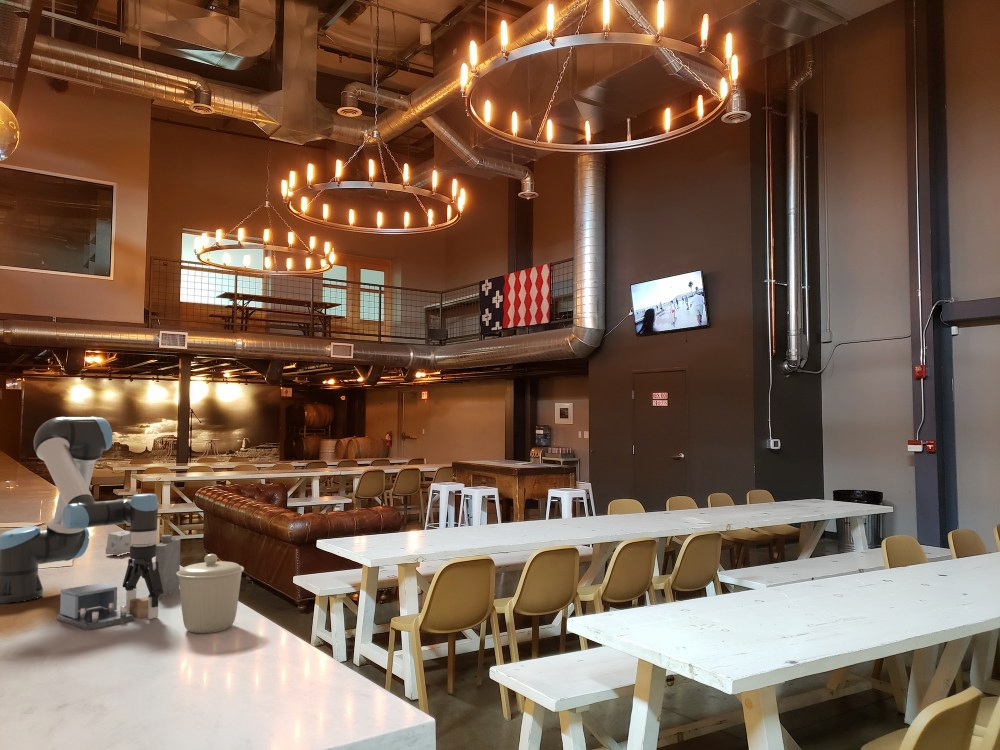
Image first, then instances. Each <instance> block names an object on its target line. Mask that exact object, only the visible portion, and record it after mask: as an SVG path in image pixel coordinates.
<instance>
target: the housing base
mask: <svg viewBox="0 0 1000 750" xmlns="http://www.w3.org/2000/svg"><path fill="white" fill-rule="evenodd" d="M126 611H127V606H126V605H121V606H120V610H114V602H109V603H108V609H107V608H104V607H101V606H99V607H94V608H88V609H86V607H82V608H80V610H78V618H72V617H69V616H66V615H63V614H60V613H59V614H57V616H56V617H57V620H58V621H60V622H63V623H66V624H69V625H72V626H74V627H77V628H79V629H82V630H85V631H90V630H91V629H92V630H96V629H100V628H106V627H109V626H115V625H118V624H123V623H127V622H132V621H134V617H133V615H131V614H130V613H128V612H126ZM114 624H115V625H114ZM105 626H106V627H105ZM95 628H96V629H95ZM92 630H91V631H92Z"/></svg>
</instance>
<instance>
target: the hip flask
mask: <svg viewBox="0 0 1000 750" xmlns="http://www.w3.org/2000/svg"><path fill="white" fill-rule="evenodd" d="M160 539H161V542H160V543H158V544H156V545H157V555H156V556H155V562H158V570H159V574H160V579H161V583H162V588H163V594H160V595H159V598H160V599H164V598H166V597H167V596H168V595H169V594H171V593H173V592H175V591H177V589H178V590H180V586H179V577H178V576H177V575H176V573H177V572H178V571H180V570H181V567H180V566H181V538H173V535H172V534H163V535H160ZM174 590H175V591H174ZM172 591H173V592H172ZM170 592H171V593H170ZM167 594H168V595H167ZM163 597H164V598H163Z"/></svg>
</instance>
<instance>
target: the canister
mask: <svg viewBox="0 0 1000 750" xmlns="http://www.w3.org/2000/svg"><path fill="white" fill-rule="evenodd" d="M244 570H245V568H244V566H243V565H240V564H238V563H237V562H233V561H218V556H217V554H215V553H209V554H206V555H205V556H204V560H203V562H198V563H193V564H192V563H191V564H189V565H187V566H184V567H183V568H182V567H181V568H180V571H178V572H177V573H176V575H177V576H178V577H179V594H180V595H179V596H180V604H181V615H182V622H183V627H184V628H185V629H186V630H187V631H188V632H190V633H193V634H194V633H195V634H211V633H217V632H221V631H224V630H227V629H229V628H230V627H232V626H233V624H234V622H235V621H236V620H235V619H236V616H237V610H238V603H239V597H240V588H241V581H242V573H243V572H244Z"/></svg>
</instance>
